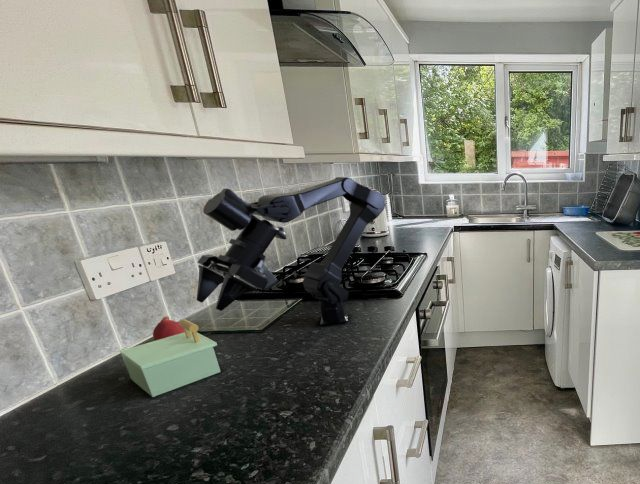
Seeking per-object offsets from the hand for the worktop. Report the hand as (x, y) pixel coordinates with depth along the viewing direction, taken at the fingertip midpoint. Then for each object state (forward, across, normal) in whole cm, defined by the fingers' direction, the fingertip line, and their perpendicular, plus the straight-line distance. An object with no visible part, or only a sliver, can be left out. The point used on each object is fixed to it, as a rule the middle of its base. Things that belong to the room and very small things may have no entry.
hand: (208, 305), depth 85 cm
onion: (+12, +15, -6) cm, 20 cm away
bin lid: (+11, 0, +1) cm, 11 cm away
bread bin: (+15, 0, -3) cm, 15 cm away
